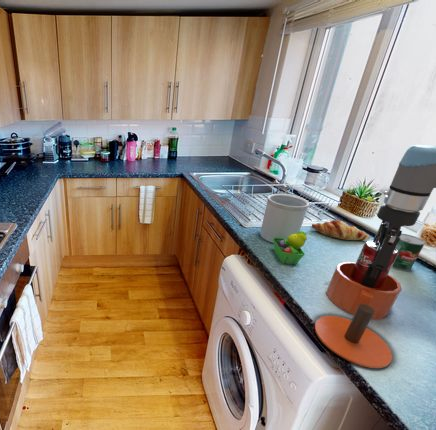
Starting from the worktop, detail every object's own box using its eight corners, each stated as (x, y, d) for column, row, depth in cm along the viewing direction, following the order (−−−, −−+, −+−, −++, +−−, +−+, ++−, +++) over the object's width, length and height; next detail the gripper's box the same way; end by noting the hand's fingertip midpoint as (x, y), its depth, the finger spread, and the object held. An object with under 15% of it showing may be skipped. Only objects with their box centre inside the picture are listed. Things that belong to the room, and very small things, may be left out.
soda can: (357, 287, 81) (373, 251, 76) (344, 272, 88) (359, 238, 83) (386, 292, 80) (406, 255, 75) (372, 276, 86) (389, 242, 81)
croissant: (363, 245, 125) (367, 227, 125) (374, 245, 115) (378, 226, 115) (307, 233, 133) (311, 216, 133) (313, 232, 123) (317, 214, 123)
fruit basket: (269, 248, 114) (276, 223, 110) (293, 250, 113) (301, 225, 108) (278, 264, 104) (287, 237, 99) (305, 267, 103) (315, 240, 98)
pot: (384, 294, 90) (397, 269, 86) (389, 334, 76) (405, 306, 72) (328, 276, 98) (338, 253, 94) (324, 309, 84) (335, 283, 80)
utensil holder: (252, 236, 123) (261, 198, 116) (266, 226, 132) (276, 190, 125) (289, 250, 113) (302, 210, 106) (301, 238, 122) (314, 200, 115)
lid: (387, 338, 74) (407, 305, 70) (393, 383, 63) (416, 347, 58) (316, 310, 83) (329, 279, 78) (310, 346, 72) (325, 312, 67)
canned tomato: (389, 256, 110) (402, 231, 106) (415, 268, 104) (430, 241, 99) (377, 261, 107) (390, 235, 103) (403, 272, 101) (417, 246, 96)
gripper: (379, 193, 83) (351, 259, 93) (384, 215, 68) (349, 291, 78) (415, 199, 79) (381, 268, 88) (428, 224, 64) (385, 303, 74)
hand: (366, 278), depth 83 cm, fingers closed on soda can, 7 cm apart
